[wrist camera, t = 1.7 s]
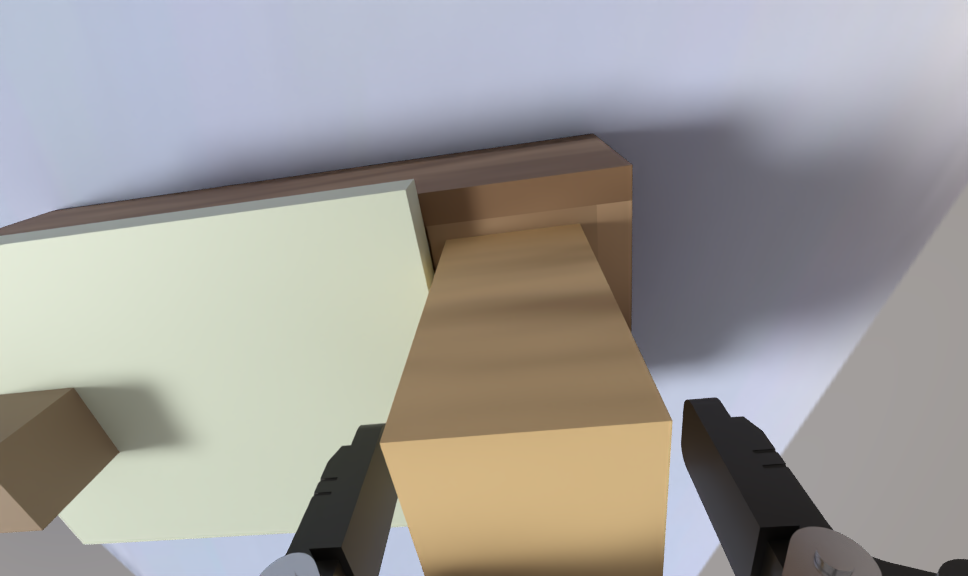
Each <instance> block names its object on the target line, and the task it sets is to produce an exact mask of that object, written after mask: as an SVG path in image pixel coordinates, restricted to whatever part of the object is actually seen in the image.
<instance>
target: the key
mask: <svg viewBox="0 0 968 576" xmlns="http://www.w3.org/2000/svg"><path fill="white" fill-rule="evenodd" d="M671 435H672V419H671V417H670V415H669V413H668V410H667V408H666V406H665V404H664V402H663V400H662V398H661V396H660V393H659V391H658V389H657V387H656V385H655V383H654V381H653V379H652V376H651V374H650V372H649V370H648V368H647V366H646V364H645V361H644V359H643V357H642V355H641V353H640V351H639V349H638V347H637V344H636V342H635V340H634V338H633V336H632V334H631V332H630V330H629V327H628V325H627V323H626V321H625V319H624V317H623V315H622V312H621V310H620V308H619V306H618V304H617V302H616V300H615V298H614V295H613V293H612V291H611V289H610V287H609V285H608V283H607V281H606V278H605V276H604V274H603V272H602V270H601V268H600V266H599V263H598V261H597V259H596V257H595V255H594V253H593V251H592V249H591V246H590V244H589V242H588V240H587V238H586V236H585V234H584V231H583V229H582V227H581V225H580V224H572V225H564V226H556V227H548V228H540V229H531V230H523V231H515V232H507V233H499V234H491V235H483V236H474V237H466V238H458V239H450V240H446V242H445V245H444V248H443V251H442V254H441V257H440V260H439V263H438V266H437V269H436V272H435V275H434V278H433V281H432V284H431V287H430V290H429V294H428V297H427V300H426V303H425V306H424V309H423V312H422V315H421V318H420V321H419V324H418V327H417V330H416V333H415V336H414V339H413V342H412V345H411V348H410V352H409V355H408V358H407V361H406V364H405V367H404V370H403V373H402V376H401V379H400V382H399V385H398V388H397V391H396V394H395V397H394V400H393V403H392V407H391V410H390V413H389V416H388V419H387V422H386V425H385V428H384V431H383V434H382V437H381V440H380V446H381V449H382V452H383V455H384V458H385V461H386V464H387V467H388V470H389V473H390V475H391V478H392V481H393V484H394V487H395V490H396V493H397V496H398V499H399V502H400V505H401V508H402V511H403V513H404V516H405V519H406V522H407V525H408V528H409V531H410V534H411V537H412V540H413V543H414V546H415V548H416V551H417V554H418V557H419V560H420V563H421V566H422V569H423V572H424V575H425V576H663V562H664V546H665V530H666V514H667V498H668V483H669V467H670V451H671Z"/></svg>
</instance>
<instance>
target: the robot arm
mask: <svg viewBox="0 0 968 576" xmlns="http://www.w3.org/2000/svg"><path fill="white" fill-rule="evenodd" d="M385 425H386V423H380V424H367V425H360V426H359V427H358V429H357V431H356V434H355V436H354V439H353V441H352V444H351V445H346V446H341V447H340V448H339V450H338V451H337V452H336V453H335V454H334V455H333V456H332V457H331V458H330V460H329V461H328V462H327V465H326V467H325V469H324V471H323V474H322V476H321V478H320V482H318V485H317V487H316V489H315V491H314V496H312V498H311V500H310V502H309V505H308V507H307V509H306V511H305V514H304V516H303V518H302V520H301V523H300V525H299V527H298V529H297V531H296V534H295V536H294V538H293V540H292V543H291V545H290V547H289V549H288V551H287V553H286V555H285V556H283V557H281V558H279V559H277V560H276V561H274V562H273V563H271V564H270V565H269V566H268V567H267V568H266V569H265V570H264V571H263V572H262V573H261V574H260V576H378V575H379V571H380V567H381V563H382V559H383V555H384V551H385V547H386V543H387V539H388V535H389V531H390V527H391V523H392V519H393V515H394V511H395V507H396V503H397V499H398V496H397V493H396V490H395V487H394V484H393V481H392V478H391V475H390V473H389V470H388V467H387V464H386V461H385V458H384V455H383V452H382V449H381V446H380V440H381V437H382V434H383V431H384V428H385ZM681 448H682V454H683V459H684V462H685V465H686V468H687V470H688V472H689V474H690V477H691V479H692V481H693V483H694V485H695V488H696V490H697V492H698V494H699V497H700V499H701V501H702V503H703V505H704V508H705V510H706V512H707V514H708V516H709V519H710V521H711V523H712V525H713V527H714V530H715V532H716V534H717V536H718V538H719V541H720V543H721V545H722V547H723V549H724V552H725V554H726V556H727V558H728V560H729V562H730V565H731V567H732V569H733V571H734V574H735V576H968V560H966V559H954V560H950V561H947V562H946V563H944V564H943V565H942V566H941V567H940V569H939V571H938V573H937V574H936V573H932V572H927V571H923V570H919V569H915V568H911V567H906V566H902V565H898V564H893V563H890V562H886V561H882V560H880V559H877V558H874V557H872V556H871V555H870V554H869V553H868V552H867V551H866V550H865V549H864V548H863V547H862V546H860V545H859V544H858V543H856V542H855V541H854V540H852V539H850V538H849V537H847V536H845V535H843V534H841V533H839V532H836V531H834V530H833V529H832V528H831V527H830V525H829V524H828V523H827V521H826V520H825V519H824V517H823V516H822V514H821V513H820V512H819V510H818V509H817V507H816V506H815V504H814V503H813V502H812V500H811V499H810V498H809V496H808V495H807V493H806V492H805V490H804V489H803V487H802V486H801V485H800V483H799V482H798V480H797V479H796V478H795V476H794V475H793V473H792V472H791V471H790V469H789V468H788V467H786V465H785V464H786V463H785V462H784V461H783V459H782V458H781V456H780V455H779V454H778V452H776V451H775V448H774V446H773V445H772V444H771V442H770V441H769V439H768V438H767V437H766V435H765V434H764V432H763V431H762V430H761V429H759V428H758V427H757V426H755V425H754V424H753V423H751V422H750V421H749V420H747V419H746V418H745V417H730V415H729V414H728V412H727V411H726V409H725V407H724V406H723V404H722V403H721V401H720V400H719V399H718V398H703V399H690V400H686V401H685V402H684V410H683V423H682V437H681Z"/></svg>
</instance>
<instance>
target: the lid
mask: <svg viewBox="0 0 968 576" xmlns="http://www.w3.org/2000/svg"><path fill="white" fill-rule="evenodd" d="M434 275H435V274H434V269H433V265H432V260H431V256H430V251H429V246H428V242H427V237H426V232H425V228H424V223H423V218H422V214H421V209H420V204H419V200H418V195H417V190H416V186H415V181H414V179H409V180H401V181H394V182H387V183H380V184H373V185H365V186H358V187H351V188H344V189H336V190H329V191H322V192H315V193H307V194H300V195H293V196H286V197H278V198H271V199H264V200H257V201H249V202H242V203H235V204H228V205H221V206H213V207H206V208H199V209H192V210H184V211H177V212H170V213H163V214H155V215H148V216H141V217H134V218H126V219H119V220H112V221H105V222H98V223H90V224H83V225H76V226H69V227H61V228H54V229H47V230H40V231H32V232H25V233H18V234H11V235H3V236H0V533H8V532H24V531H41V530H44V528H46V527H47V526H48V524H49V523H50V522H51V521H52V520H53V519H54V518H55V517H56V516H57V515H58V516H59V517H60V518H61V519H62V520H63V521H64V523H65V524H66V525H67V526H68V527H69V528H70V529H71V531H72V532H73V533H74V534H75V535H76V536H77V537H78V539H79V540H80V541H81V542H82V543H83V544H84V545H85V544H86V545H87V544H105V543H123V542H141V541H159V540H176V539H194V538H212V537H230V536H247V535H265V534H283V533H296V531H297V529H298V527H299V525H300V523H301V520H302V518H303V516H304V514H305V511H306V509H307V507H308V505H309V502H310V500H311V498H312V496H314V491H315V489H316V487H317V485H318V482H320V478H321V476H322V474H323V471H324V469H325V467H326V465H327V462H328V461H329V460H330V458H331V457H332V456H333V455H334V454H335V453H336V452H337V451H338V450H339V448H340V447H341V446H346V445H351V444H352V441H353V439H354V436H355V434H356V431H357V429H358V427H359V426H360V425H367V424H380V423H386V422H387V419H388V416H389V413H390V410H391V407H392V403H393V400H394V397H395V394H396V391H397V388H398V385H399V382H400V379H401V376H402V373H403V370H404V367H405V364H406V361H407V358H408V355H409V352H410V348H411V345H412V342H413V339H414V336H415V333H416V330H417V327H418V324H419V321H420V318H421V315H422V312H423V309H424V306H425V303H426V300H427V297H428V294H429V290H430V287H431V284H432V281H433V278H434ZM407 526H408V525H407V522H406V519H405V516H404V513H403V511H402V508H401V505H400V502H399V499H397V503H396V507H395V511H394V515H393V519H392V523H391V527H407Z"/></svg>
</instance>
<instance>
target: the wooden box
mask: <svg viewBox="0 0 968 576" xmlns="http://www.w3.org/2000/svg"><path fill="white" fill-rule="evenodd" d="M409 179H414V181H415V186H416V190H417V195H418V200H419V204H420V209H421V214H422V218H423V223H424V228H425V232H426V237H427V242H428V246H429V251H430V256H431V260H432V265H433V269H434V274H435V272H436V269H437V266H438V263H439V260H440V257H441V254H442V251H443V248H444V245H445V242H446V240H450V239H458V238H466V237H474V236H483V235H491V234H499V233H507V232H515V231H523V230H531V229H540V228H548V227H556V226H564V225H572V224H580V225H581V227H582V229H583V231H584V234H585V236H586V238H587V240H588V242H589V244H590V246H591V249H592V251H593V253H594V255H595V257H596V259H597V261H598V263H599V266H600V268H601V270H602V272H603V274H604V276H605V278H606V281H607V283H608V285H609V287H610V289H611V291H612V293H613V295H614V298H615V300H616V302H617V304H618V306H619V308H620V310H621V312H622V315H623V317H624V319H625V321H626V323H627V325H628V327H629V330H630V332H631V311H632V164H631V163H629V162H628V161H627V160H626V159H624V158H623V157H622V156H621V155H619V154H618V153H617V152H616V151H614V150H613V149H612V148H611V147H609V146H608V145H607V144H606V143H604V142H603V141H602V140H601V139H599V138H598V137H597V136H596V135H594V134H587V135H580V136H573V137H566V138H559V139H552V140H545V141H538V142H531V143H524V144H517V145H510V146H503V147H496V148H489V149H482V150H475V151H468V152H461V153H454V154H447V155H440V156H433V157H426V158H419V159H412V160H405V161H398V162H391V163H384V164H377V165H370V166H363V167H356V168H349V169H342V170H335V171H328V172H321V173H314V174H307V175H300V176H293V177H286V178H279V179H272V180H265V181H258V182H251V183H244V184H237V185H230V186H223V187H216V188H209V189H202V190H195V191H188V192H181V193H174V194H167V195H160V196H153V197H146V198H139V199H132V200H125V201H118V202H111V203H104V204H97V205H90V206H83V207H76V208H69V209H62V210H55V211H51V212H48V213H45V214H42V215H39V216H36V217H32V218H29V219H26V220H23V221H20V222H17V223H14V224H11V225H8V226H5V227H2V228H0V236H3V235H11V234H18V233H25V232H32V231H40V230H47V229H54V228H61V227H69V226H76V225H83V224H90V223H98V222H105V221H112V220H119V219H126V218H134V217H141V216H148V215H155V214H163V213H170V212H177V211H184V210H192V209H199V208H206V207H213V206H221V205H228V204H235V203H242V202H249V201H257V200H264V199H271V198H278V197H286V196H293V195H300V194H307V193H315V192H322V191H329V190H336V189H344V188H351V187H358V186H365V185H373V184H380V183H387V182H394V181H401V180H409Z"/></svg>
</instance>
